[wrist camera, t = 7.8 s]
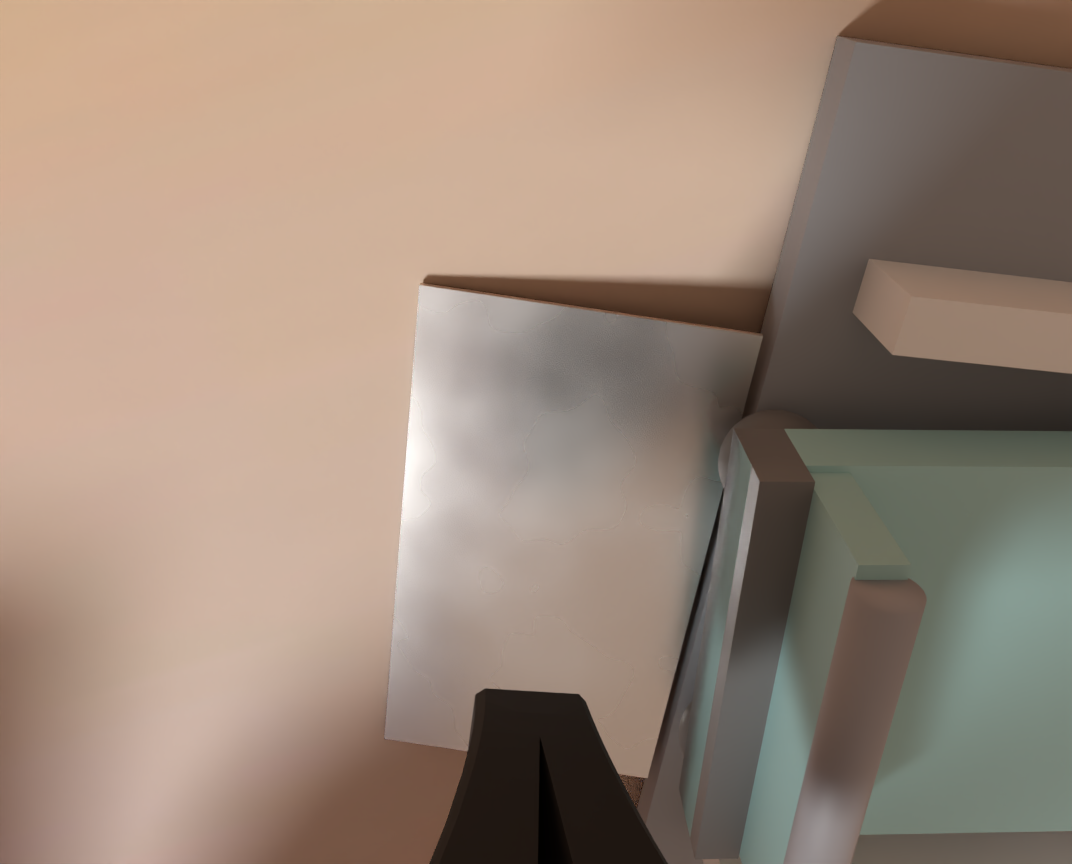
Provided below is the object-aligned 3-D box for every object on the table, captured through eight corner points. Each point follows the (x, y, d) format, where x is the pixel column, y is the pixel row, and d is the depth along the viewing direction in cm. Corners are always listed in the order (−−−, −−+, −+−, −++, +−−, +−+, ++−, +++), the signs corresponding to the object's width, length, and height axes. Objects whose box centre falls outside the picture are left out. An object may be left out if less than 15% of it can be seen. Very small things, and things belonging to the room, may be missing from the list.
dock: (1053, 903, 21) (1139, 1052, 19) (616, 885, 20) (638, 1039, 18) (1509, 131, 14) (1778, 186, 11) (837, 35, 12) (940, 69, 10)
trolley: (1088, 730, 18) (1276, 981, 14) (666, 735, 17) (726, 997, 13) (1230, 396, 15) (1535, 590, 10) (714, 390, 14) (813, 591, 10)
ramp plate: (647, 774, 18) (647, 777, 18) (385, 734, 18) (384, 738, 18) (762, 333, 14) (762, 336, 14) (420, 282, 14) (419, 285, 14)
